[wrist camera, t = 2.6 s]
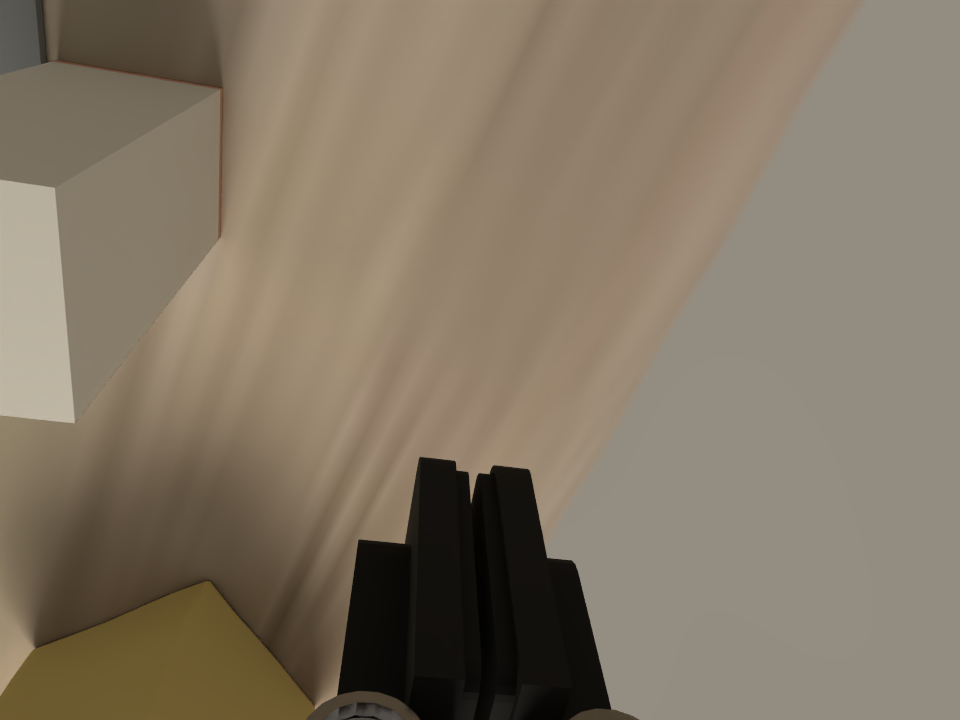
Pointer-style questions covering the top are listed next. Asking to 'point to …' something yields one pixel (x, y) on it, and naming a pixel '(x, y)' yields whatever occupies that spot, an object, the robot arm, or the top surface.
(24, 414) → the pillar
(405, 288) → the top surface
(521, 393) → the top surface
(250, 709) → the cheese
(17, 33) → the mat
